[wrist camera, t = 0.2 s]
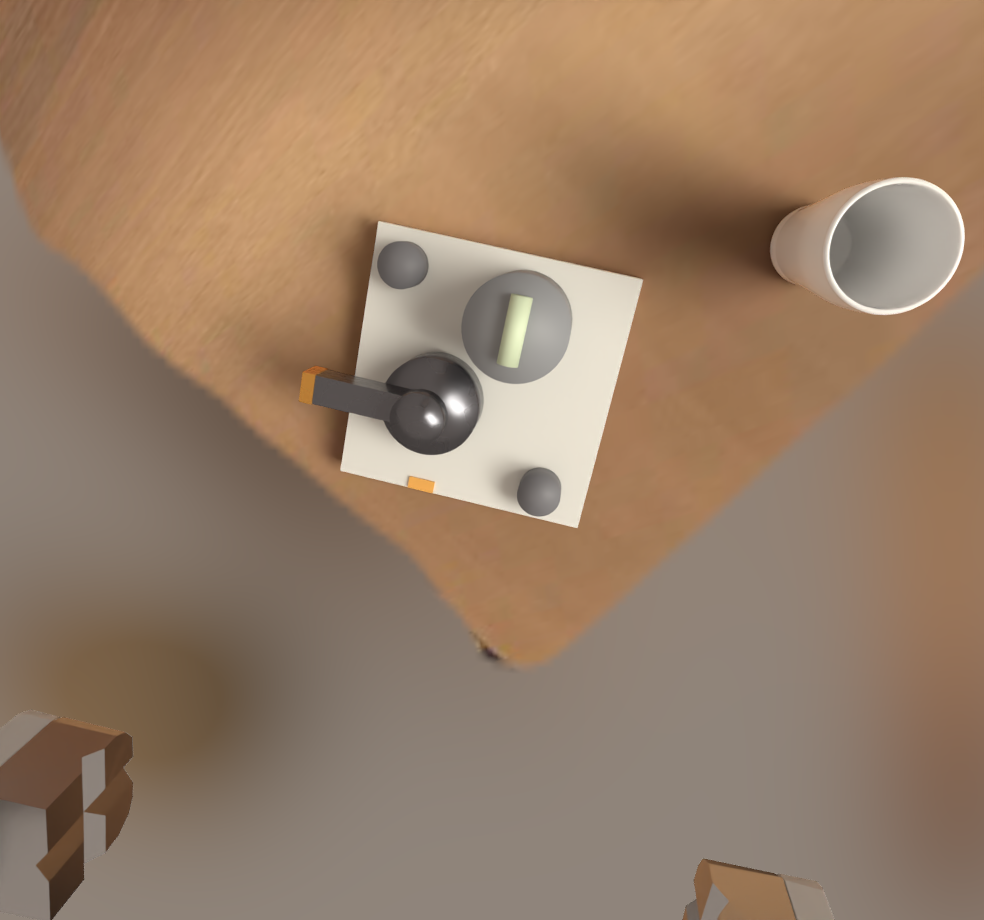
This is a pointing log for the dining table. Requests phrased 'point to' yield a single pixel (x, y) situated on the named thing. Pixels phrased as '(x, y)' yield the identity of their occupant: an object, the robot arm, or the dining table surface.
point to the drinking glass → (872, 245)
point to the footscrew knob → (407, 400)
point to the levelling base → (506, 406)
